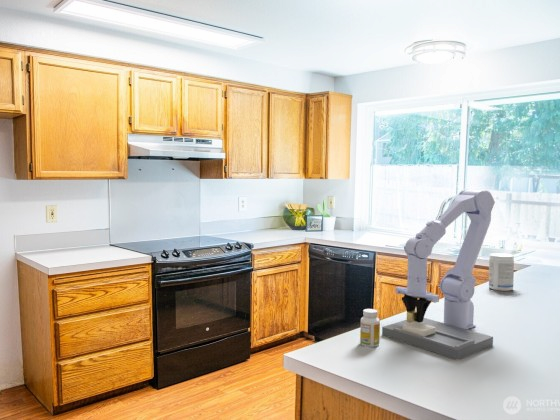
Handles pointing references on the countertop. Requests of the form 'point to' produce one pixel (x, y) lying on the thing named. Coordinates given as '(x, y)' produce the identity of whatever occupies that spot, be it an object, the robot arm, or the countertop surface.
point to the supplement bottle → (370, 328)
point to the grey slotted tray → (441, 339)
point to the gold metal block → (412, 316)
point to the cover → (419, 328)
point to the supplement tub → (501, 271)
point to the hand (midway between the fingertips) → (415, 320)
